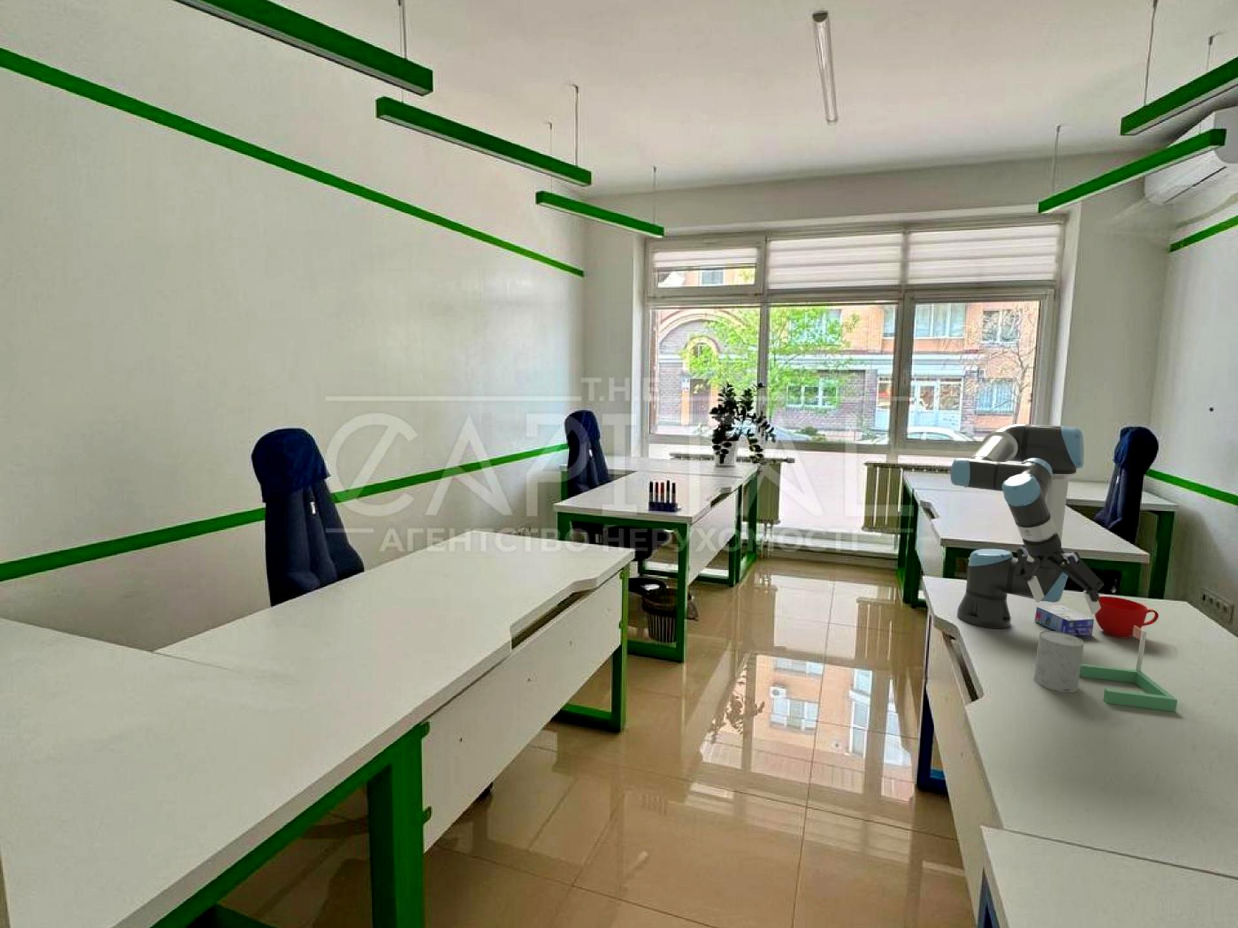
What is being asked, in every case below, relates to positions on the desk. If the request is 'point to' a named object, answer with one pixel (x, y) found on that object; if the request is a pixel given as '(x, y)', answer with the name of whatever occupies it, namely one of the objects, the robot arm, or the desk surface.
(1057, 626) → the ink cartridge box
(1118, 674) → the green angular frame
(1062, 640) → the speckled concrete drum
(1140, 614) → the ceramic cup
